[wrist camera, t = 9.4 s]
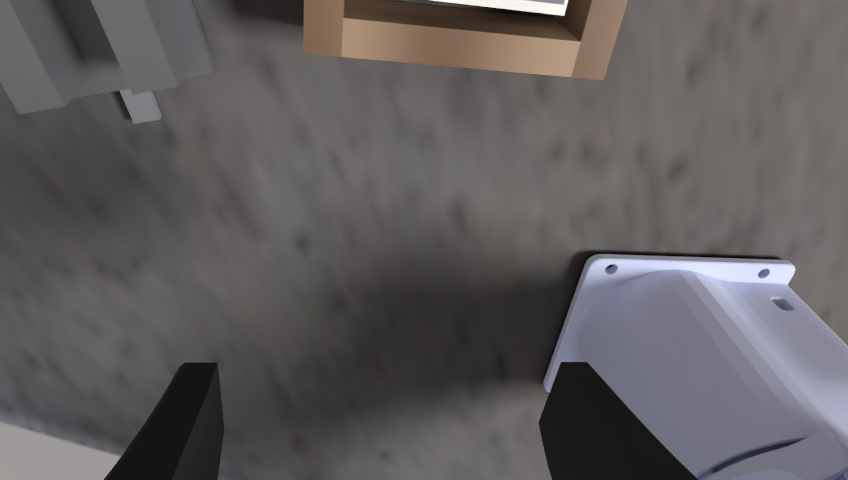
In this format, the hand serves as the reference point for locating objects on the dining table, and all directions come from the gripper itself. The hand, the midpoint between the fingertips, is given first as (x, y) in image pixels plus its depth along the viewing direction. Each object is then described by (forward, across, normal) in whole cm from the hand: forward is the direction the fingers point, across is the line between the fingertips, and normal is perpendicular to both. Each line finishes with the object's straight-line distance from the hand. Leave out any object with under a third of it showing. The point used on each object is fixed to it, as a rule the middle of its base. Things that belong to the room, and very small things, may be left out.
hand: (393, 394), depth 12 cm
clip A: (+10, +8, -5) cm, 14 cm away
